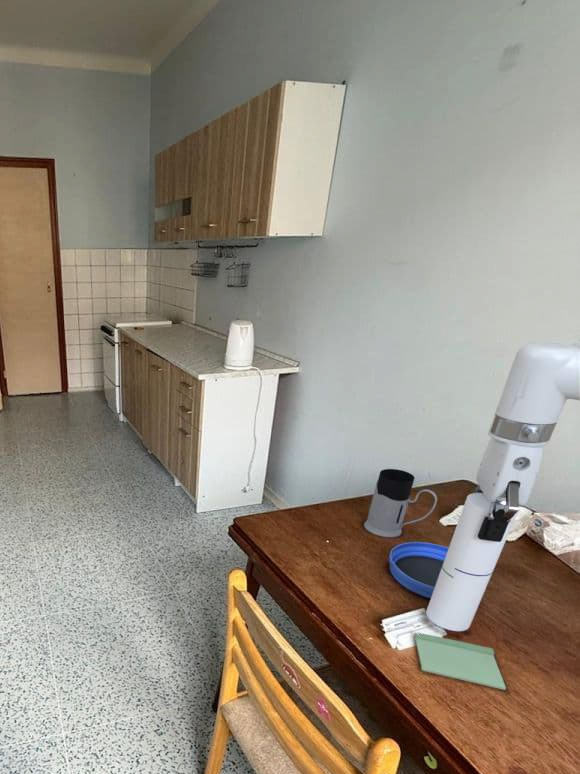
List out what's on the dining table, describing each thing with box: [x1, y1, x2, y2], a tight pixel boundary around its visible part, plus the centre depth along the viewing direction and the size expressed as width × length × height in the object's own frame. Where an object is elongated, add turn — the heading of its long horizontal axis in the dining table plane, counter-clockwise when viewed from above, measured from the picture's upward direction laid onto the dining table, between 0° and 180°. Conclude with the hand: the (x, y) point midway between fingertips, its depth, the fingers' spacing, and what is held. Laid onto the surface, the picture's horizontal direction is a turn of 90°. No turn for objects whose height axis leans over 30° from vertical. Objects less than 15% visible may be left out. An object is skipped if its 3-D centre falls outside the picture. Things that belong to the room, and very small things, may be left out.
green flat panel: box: [413, 631, 507, 691], centre depth 82 cm, size 12×9×1 cm
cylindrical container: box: [425, 492, 520, 632], centre depth 84 cm, size 7×7×25 cm
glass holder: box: [363, 468, 438, 538], centre depth 116 cm, size 9×14×15 cm, turn 39°
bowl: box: [388, 541, 449, 600], centre depth 102 cm, size 18×18×4 cm
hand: (482, 527), depth 80 cm, fingers closed on cylindrical container, 7 cm apart
